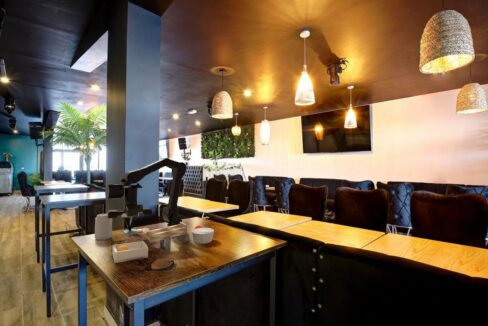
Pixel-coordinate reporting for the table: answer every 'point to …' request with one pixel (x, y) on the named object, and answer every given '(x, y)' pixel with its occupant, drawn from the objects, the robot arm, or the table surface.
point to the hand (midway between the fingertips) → (129, 230)
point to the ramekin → (202, 235)
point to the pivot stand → (166, 244)
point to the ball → (122, 248)
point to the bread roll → (161, 265)
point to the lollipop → (200, 223)
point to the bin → (130, 251)
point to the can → (103, 227)
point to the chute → (163, 233)
